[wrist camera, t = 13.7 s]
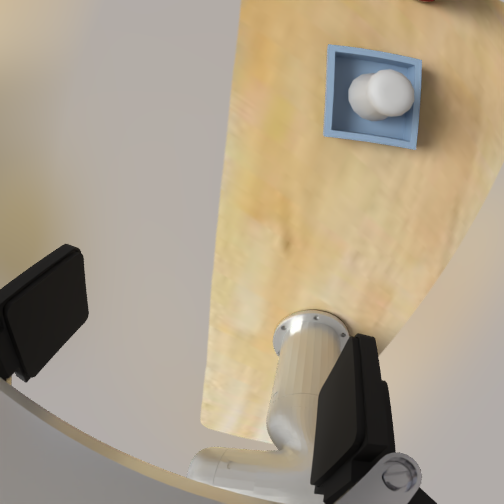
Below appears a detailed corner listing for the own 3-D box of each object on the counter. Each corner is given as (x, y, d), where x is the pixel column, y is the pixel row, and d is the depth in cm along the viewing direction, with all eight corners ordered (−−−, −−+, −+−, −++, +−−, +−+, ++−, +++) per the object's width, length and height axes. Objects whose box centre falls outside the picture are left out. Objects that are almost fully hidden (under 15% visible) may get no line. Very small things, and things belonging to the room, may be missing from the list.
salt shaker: (358, 67, 32) (377, 46, 20) (399, 90, 32) (435, 82, 20) (338, 106, 34) (348, 103, 23) (379, 129, 35) (407, 138, 23)
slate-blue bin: (406, 146, 35) (415, 149, 32) (323, 134, 37) (323, 136, 34) (412, 64, 31) (421, 60, 27) (327, 50, 32) (328, 44, 29)
